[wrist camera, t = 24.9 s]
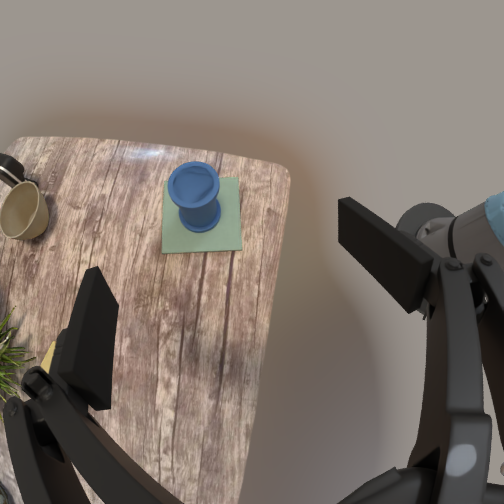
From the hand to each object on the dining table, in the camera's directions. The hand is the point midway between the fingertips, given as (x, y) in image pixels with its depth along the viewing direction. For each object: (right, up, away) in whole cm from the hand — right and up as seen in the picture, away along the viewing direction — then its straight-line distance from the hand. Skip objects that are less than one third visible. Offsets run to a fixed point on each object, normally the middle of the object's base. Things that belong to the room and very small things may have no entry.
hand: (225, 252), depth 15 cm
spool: (-7, +6, +29) cm, 30 cm away
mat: (-7, +6, +29) cm, 31 cm away
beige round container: (-37, +5, +27) cm, 46 cm away
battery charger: (-43, +13, +28) cm, 53 cm away
